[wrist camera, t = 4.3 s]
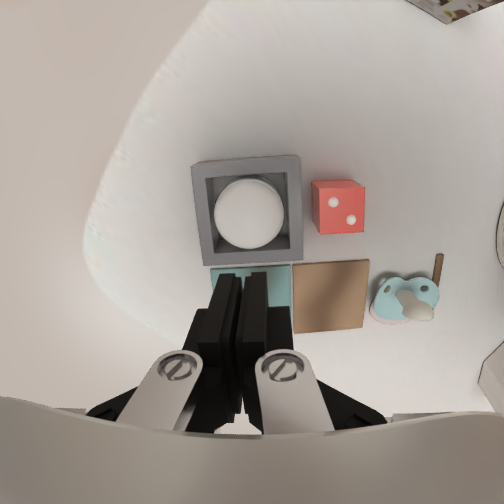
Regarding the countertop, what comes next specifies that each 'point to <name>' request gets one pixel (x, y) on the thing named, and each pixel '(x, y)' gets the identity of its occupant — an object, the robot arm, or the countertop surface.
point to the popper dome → (249, 212)
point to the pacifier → (404, 300)
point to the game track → (319, 291)
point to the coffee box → (452, 8)
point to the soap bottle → (494, 379)
